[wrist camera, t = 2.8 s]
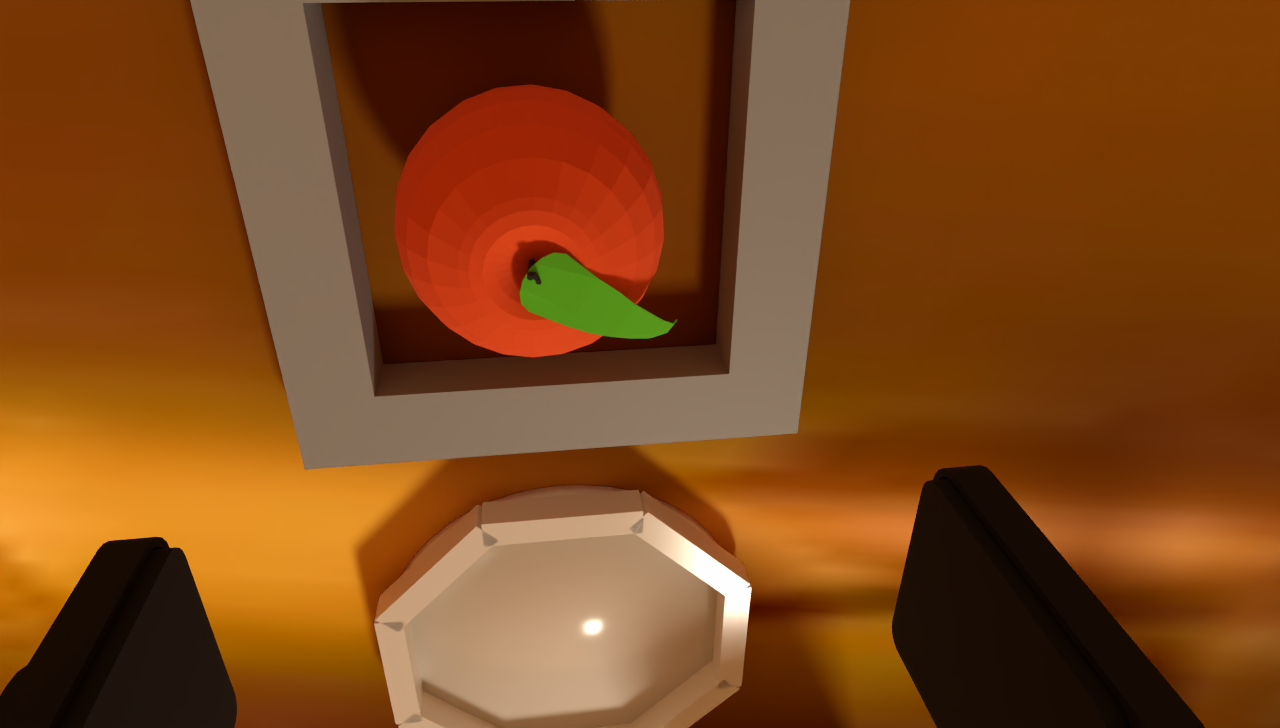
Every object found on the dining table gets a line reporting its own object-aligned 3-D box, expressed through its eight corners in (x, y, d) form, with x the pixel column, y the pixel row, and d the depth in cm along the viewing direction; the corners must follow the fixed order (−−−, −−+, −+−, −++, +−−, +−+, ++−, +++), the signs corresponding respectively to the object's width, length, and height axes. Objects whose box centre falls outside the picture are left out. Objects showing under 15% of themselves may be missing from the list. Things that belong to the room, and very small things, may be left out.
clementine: (718, 164, 25) (785, 253, 19) (596, 339, 27) (620, 469, 21) (481, 8, 22) (469, 54, 16) (367, 221, 24) (319, 332, 18)
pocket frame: (836, -115, 22) (864, -116, 20) (780, 401, 30) (797, 433, 28) (191, -120, 20) (160, -121, 18) (317, 433, 28) (304, 469, 26)
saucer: (747, 470, 31) (760, 501, 29) (726, 715, 38) (734, 750, 36) (362, 500, 29) (354, 535, 28) (414, 750, 36) (410, 789, 35)
